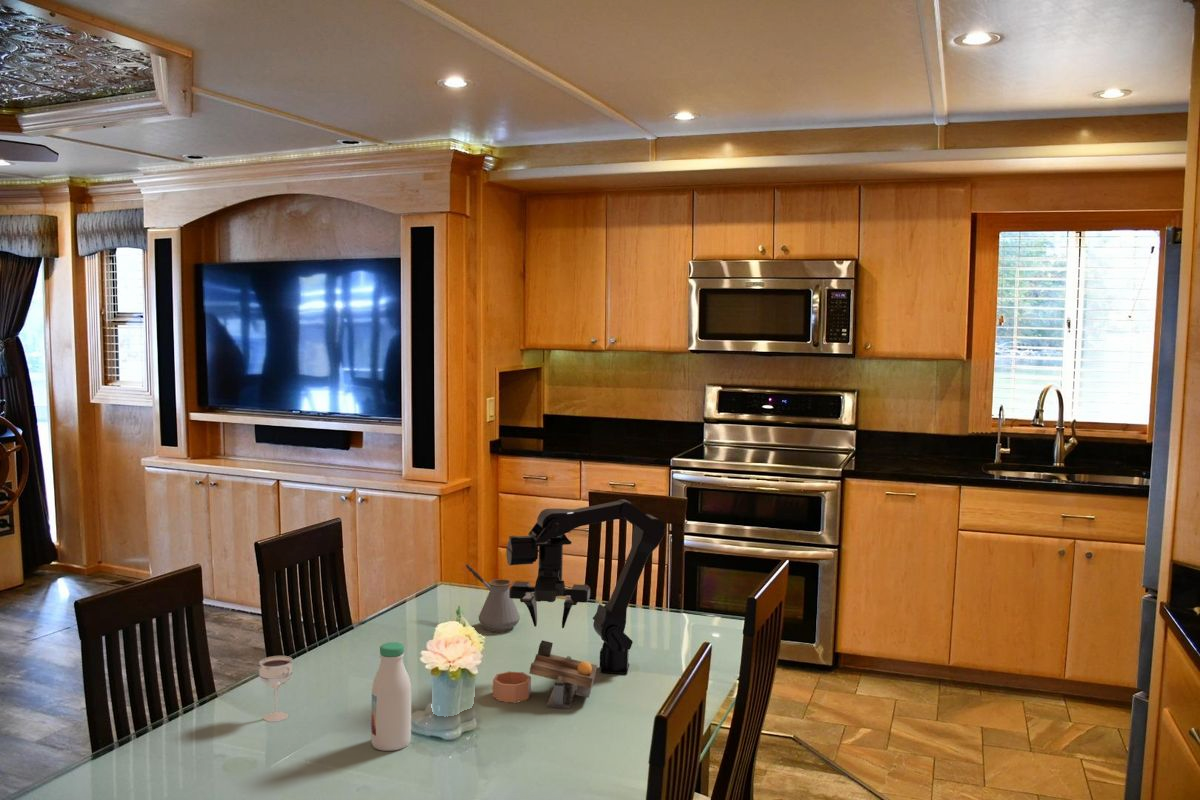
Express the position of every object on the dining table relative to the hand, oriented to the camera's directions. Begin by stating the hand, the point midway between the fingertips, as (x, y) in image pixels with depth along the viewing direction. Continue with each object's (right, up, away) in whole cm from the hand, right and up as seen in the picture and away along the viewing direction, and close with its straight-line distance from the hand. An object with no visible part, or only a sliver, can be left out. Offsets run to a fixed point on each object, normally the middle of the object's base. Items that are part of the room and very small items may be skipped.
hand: (549, 626), depth 219 cm
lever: (+3, -10, -11) cm, 15 cm away
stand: (+4, -13, -11) cm, 17 cm away
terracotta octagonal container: (-8, -13, -12) cm, 19 cm away
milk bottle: (-29, -14, -37) cm, 49 cm away
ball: (+9, -6, -14) cm, 17 cm away
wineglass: (-56, -13, -26) cm, 63 cm away
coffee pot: (-20, -9, +39) cm, 45 cm away
